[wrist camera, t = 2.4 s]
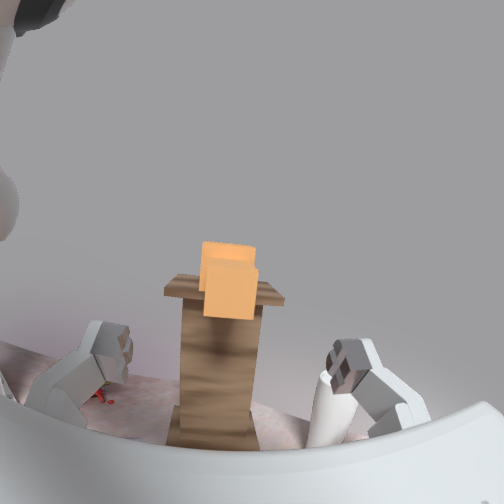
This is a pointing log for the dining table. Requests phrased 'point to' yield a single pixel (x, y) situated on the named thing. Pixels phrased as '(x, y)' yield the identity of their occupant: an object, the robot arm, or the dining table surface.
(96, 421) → the dining table surface
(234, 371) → the pedestal
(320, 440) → the drinking glass
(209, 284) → the stepped block
